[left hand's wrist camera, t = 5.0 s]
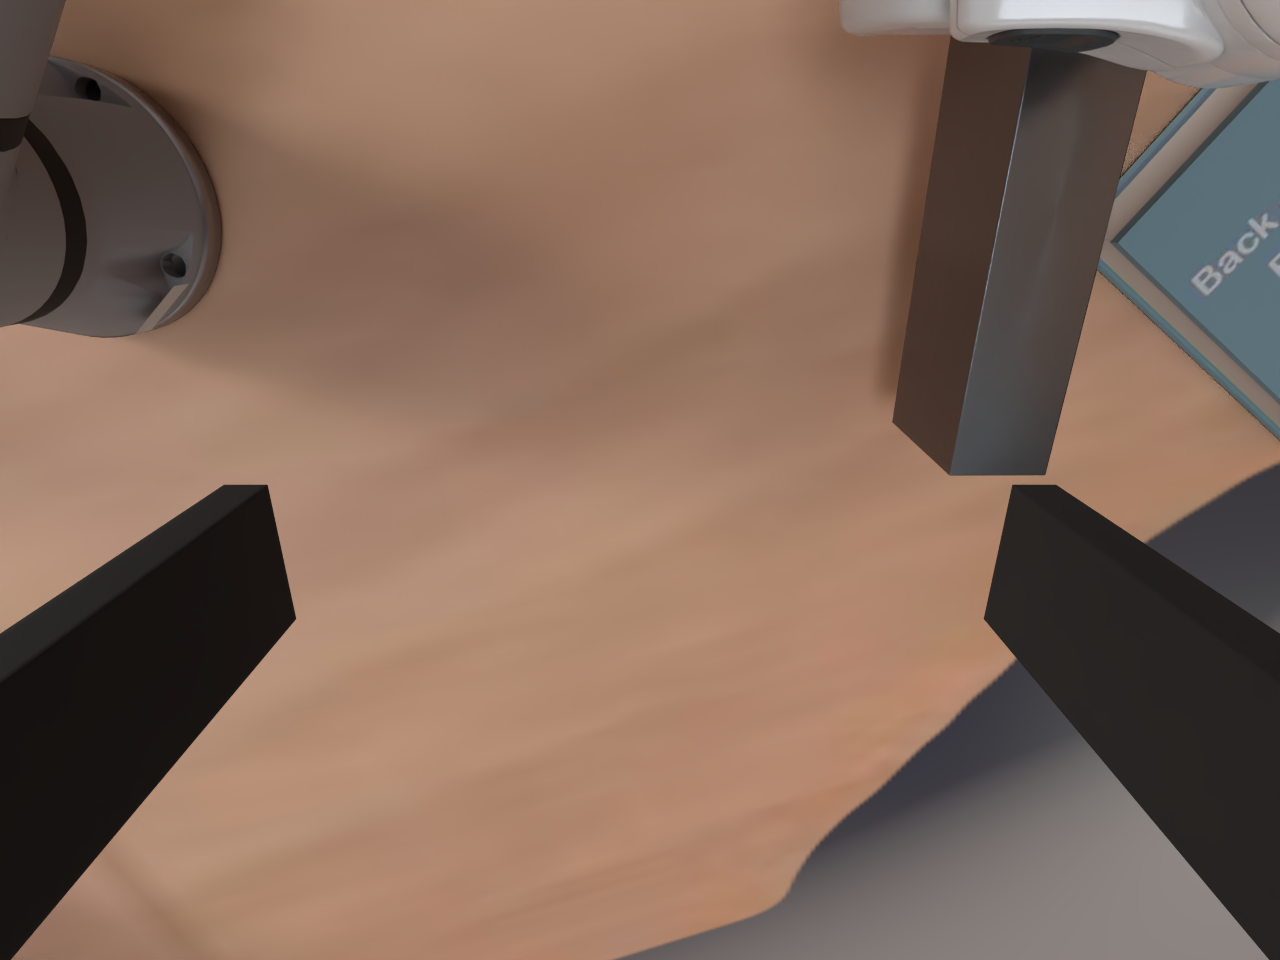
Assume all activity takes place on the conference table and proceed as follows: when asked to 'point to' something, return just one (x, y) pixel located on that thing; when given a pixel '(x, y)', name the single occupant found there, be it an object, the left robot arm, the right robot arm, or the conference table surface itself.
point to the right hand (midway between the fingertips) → (1032, 10)
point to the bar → (1009, 250)
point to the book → (1209, 239)
